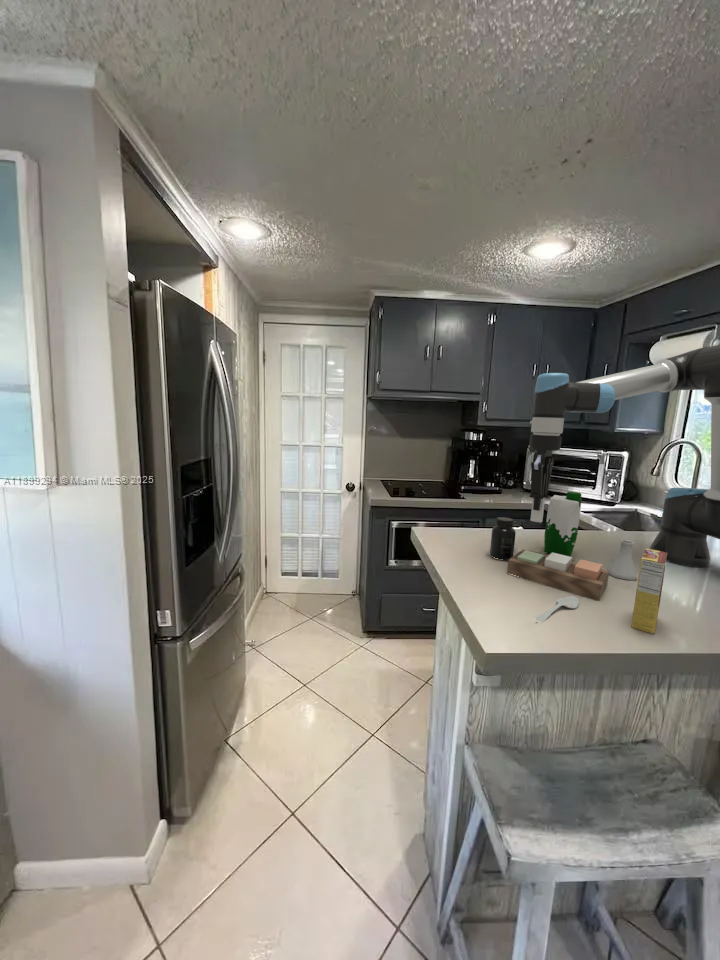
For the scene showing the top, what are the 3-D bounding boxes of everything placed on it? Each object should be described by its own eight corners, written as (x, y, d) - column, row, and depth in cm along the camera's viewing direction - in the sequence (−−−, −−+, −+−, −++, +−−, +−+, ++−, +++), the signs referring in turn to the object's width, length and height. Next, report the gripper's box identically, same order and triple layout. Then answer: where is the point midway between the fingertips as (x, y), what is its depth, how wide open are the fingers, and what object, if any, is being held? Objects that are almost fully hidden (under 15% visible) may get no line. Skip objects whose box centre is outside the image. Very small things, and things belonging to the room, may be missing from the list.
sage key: (542, 568, 110) (543, 554, 110) (534, 575, 105) (536, 561, 104) (523, 563, 113) (525, 550, 113) (515, 570, 108) (517, 556, 107)
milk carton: (571, 559, 120) (581, 496, 117) (540, 552, 125) (548, 491, 122) (575, 552, 127) (584, 492, 124) (545, 545, 133) (553, 487, 129)
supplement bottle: (515, 556, 121) (519, 518, 119) (510, 562, 116) (514, 523, 113) (492, 551, 125) (496, 514, 123) (486, 557, 119) (490, 519, 117)
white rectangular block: (570, 571, 106) (572, 557, 105) (564, 579, 100) (566, 564, 100) (550, 566, 109) (552, 552, 108) (543, 573, 104) (545, 558, 103)
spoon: (583, 606, 91) (584, 599, 91) (536, 633, 79) (537, 625, 79) (565, 599, 95) (566, 592, 94) (517, 623, 82) (518, 616, 82)
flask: (642, 582, 106) (648, 547, 104) (612, 579, 107) (618, 544, 105) (629, 572, 113) (635, 538, 111) (602, 569, 114) (607, 536, 112)
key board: (607, 585, 103) (609, 570, 102) (599, 600, 94) (601, 584, 93) (521, 562, 116) (522, 549, 116) (506, 573, 107) (508, 559, 107)
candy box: (633, 611, 89) (645, 547, 86) (657, 618, 86) (669, 552, 84) (628, 626, 82) (641, 557, 80) (654, 635, 79) (667, 563, 77)
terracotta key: (600, 579, 101) (602, 564, 101) (595, 587, 96) (597, 572, 95) (578, 573, 105) (580, 559, 104) (572, 581, 99) (574, 566, 98)
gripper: (538, 432, 110) (529, 514, 114) (523, 434, 100) (514, 523, 104) (567, 434, 105) (557, 519, 109) (555, 435, 95) (544, 529, 100)
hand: (536, 521), depth 107 cm, fingers closed
